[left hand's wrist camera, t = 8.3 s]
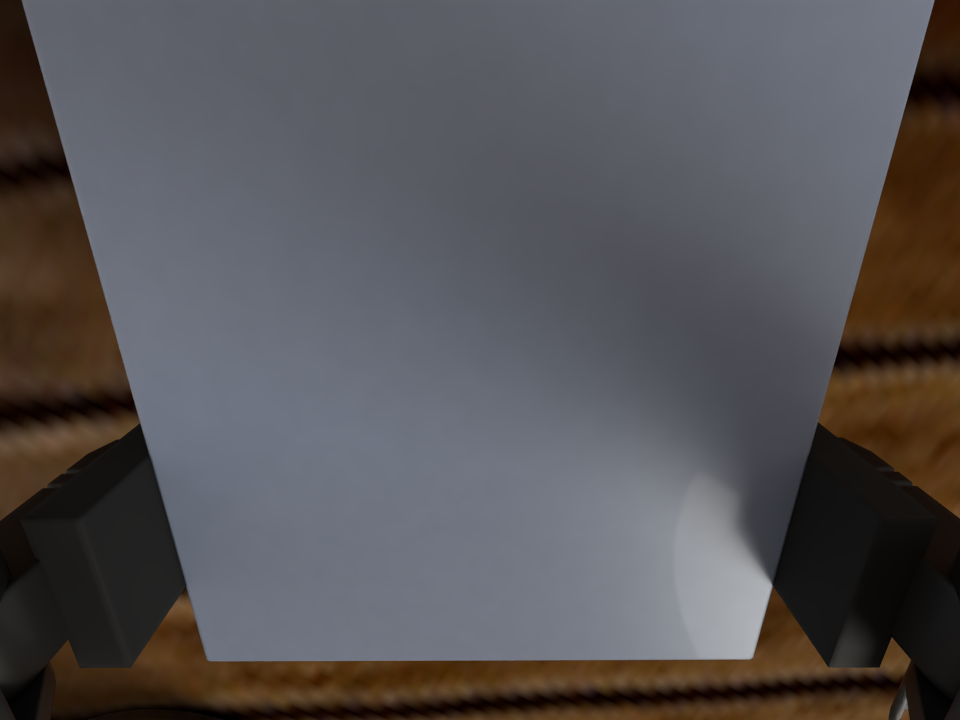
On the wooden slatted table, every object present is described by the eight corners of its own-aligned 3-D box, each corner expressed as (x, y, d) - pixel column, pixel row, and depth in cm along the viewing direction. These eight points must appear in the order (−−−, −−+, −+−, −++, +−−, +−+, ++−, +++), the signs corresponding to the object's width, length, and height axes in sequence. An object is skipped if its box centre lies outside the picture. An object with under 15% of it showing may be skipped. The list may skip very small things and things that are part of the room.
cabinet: (259, -303, 12) (-539, -1959, 3) (696, -303, 12) (1475, -1936, 3) (341, 409, 19) (205, 663, 10) (617, 408, 19) (753, 661, 10)
